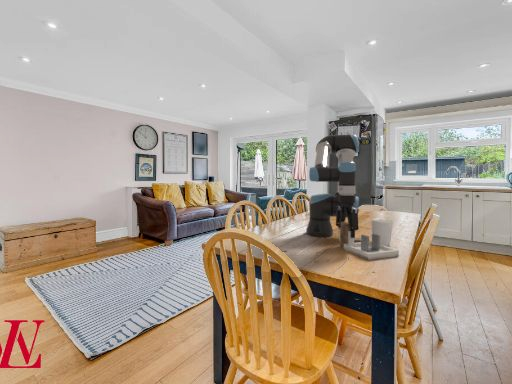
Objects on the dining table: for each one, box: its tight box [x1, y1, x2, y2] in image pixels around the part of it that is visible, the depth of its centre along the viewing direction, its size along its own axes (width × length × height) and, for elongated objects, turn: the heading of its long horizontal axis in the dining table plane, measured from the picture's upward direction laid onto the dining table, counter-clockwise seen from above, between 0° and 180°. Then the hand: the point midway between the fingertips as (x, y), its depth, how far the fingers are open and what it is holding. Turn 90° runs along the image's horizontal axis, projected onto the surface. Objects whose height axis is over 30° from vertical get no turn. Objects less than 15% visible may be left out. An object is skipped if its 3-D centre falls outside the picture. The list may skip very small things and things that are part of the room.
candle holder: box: [370, 218, 394, 247], centre depth 132 cm, size 10×10×12 cm
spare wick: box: [354, 237, 361, 243], centre depth 133 cm, size 12×5×2 cm, turn 70°
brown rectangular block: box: [339, 220, 350, 248], centre depth 125 cm, size 5×2×12 cm, turn 19°
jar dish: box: [343, 233, 400, 261], centre depth 117 cm, size 16×16×8 cm
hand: (346, 242), depth 125 cm, fingers open, 6 cm apart
